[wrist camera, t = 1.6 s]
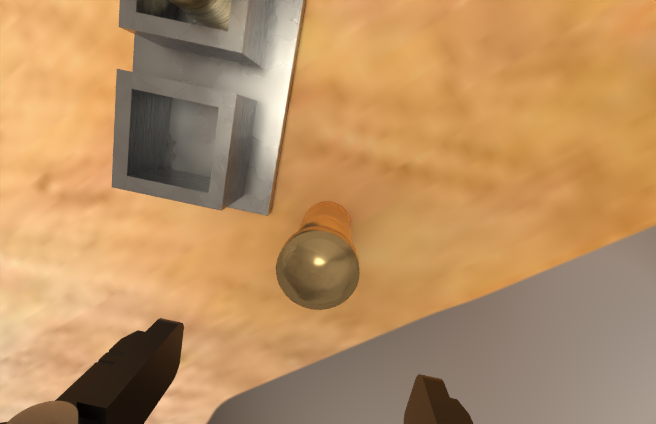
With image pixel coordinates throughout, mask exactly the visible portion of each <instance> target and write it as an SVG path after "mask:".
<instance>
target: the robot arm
mask: <svg viewBox="0 0 656 424" xmlns="http://www.w3.org/2000/svg"><path fill="white" fill-rule="evenodd" d="M183 330H184V325H183V323H180V322H176V321H171V320H166V319H162V318H160V319H158V320H157V321H156V322H155V323H154V324H153V325H152V326H151V327H150V328H149V329H148V330H147V331H146V332H143V331H136V332H134V333H132V334H130V335H128V336H126V337H124V338H122V339H121V340H119V341H118V342H117V343H116V344H115V345H114V346H113V347H112V348H111V349H110V350H109V352H108V353H106V354H105V355H103V356H102V357H101V358H100V359H99V361H98V363H97V362H96V363H95V364H94V365H93V366H92V367H91V368H90V369H89V370H87V371H86V372H85V373H84V374H83V375H82V376H81V377H80V378H79V379H78V380H77V381H76V382H75V383H74V384H72V385H71V386H70V387H69V388H68V389H67V390H66V391H65V392H64V393H63V394H62V395H61V396H60V397H59V398H58V399H56V400H55V401H49V402H44V403H40V404H37V405H34V406H32V407H29V408H27V409H25V410H23V411H22V412H20V413H18V414H17V415H16V416H14V417H13V418H12V419H11V420H9V421H8V422H4V423H0V424H144V422H145V421H146V420H147V418H148V417H149V415H150V414H151V412H152V411H153V409H154V408H155V406H156V405H157V403H158V402H159V401H160V399H161V398H162V396H163V395H164V393H165V392H166V390H167V389H168V387H169V386H170V384H171V383H172V381H173V380H174V378H175V376H176V373H177V371H178V368H179V364H180V357H181V348H182V339H183ZM404 424H473V422H472V420H471V417H470V415H469V413H468V412H467V411H466V410H465V409H464V407H463V406H462V405H461V404H460V402H459V401H458V400H457V399H453V398H450V397H449V395H448V392H447V389H446V387H445V384H444V382H443V380H442V379H439V378H434V377H429V376H425V375H418V376H417V377H416V380H415V383H414V386H413V389H412V392H411V395H410V398H409V401H408V404H407V407H406V410H405V415H404Z"/></svg>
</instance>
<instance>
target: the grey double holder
mask: <svg viewBox="0 0 656 424" xmlns="http://www.w3.org/2000/svg"><path fill="white" fill-rule="evenodd" d="M305 5H306V0H120V10H119V27H120V28H122V29H125V30H127V31H129V32H131V33H134V34H135V38H134V56H133V72H130V71H125V70H120V69H117V78H116V101H115V124H114V147H113V169H112V187H114V188H118V189H123V190H128V191H132V192H137V193H142V194H146V195H151V196H156V197H160V198H165V199H170V200H174V201H179V202H184V203H188V204H193V205H198V206H203V207H207V208H212V209H217V210H223V209H225V208H226V207H229V208H234V209H239V210H243V211H248V212H253V213H257V214H262V215H267V216H268V215H269V214H270V212H271V208H272V202H273V196H274V190H275V184H276V178H277V172H278V166H279V160H280V154H281V148H282V142H283V136H284V130H285V124H286V118H287V112H288V106H289V100H290V94H291V88H292V83H293V77H294V71H295V65H296V59H297V53H298V47H299V41H300V35H301V29H302V23H303V17H304V11H305Z"/></svg>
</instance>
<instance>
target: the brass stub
mask: <svg viewBox="0 0 656 424" xmlns="http://www.w3.org/2000/svg"><path fill="white" fill-rule="evenodd" d="M276 275H277V280H278V283H279V285H280V287H281V289H282V290H283V292H284V293H285V294H286V296H287V297H289V298H290V299H291V300H292V301H293V302H295V303H297V304H298V305H300V306H303V307H306V308H309V309H317V310H321V309H329V308H332V307H335V306H337V305H339V304H341V303H343V302H344V301H345V300H347V299H348V298H349V297H350V296H351V295H352V293H353V292H354V290H355V288H356V286H357V283H358V280H359V261H358V255H357V252H356V249H355V247H354V245H353V244H352V242H351V224H350V218H349V215H348V213H347V212H346V210H345V209H344V208H343V207H342V206H340V205H338V204H336V203H333V202H321V203H318V204H316V205H314V206H313V207H311V208H310V210H309V211H308V212H307V214H306V216H305V218H304V220H303V222H302V224H301V227H300V229H299V231H298V232H296V233H295V234H293V235H292V236H291V237H290V238H289V239H288V240H287V242H286V243H285V245H284V247H283V248H282V250H281V252H280V254H279V257H278V260H277V264H276Z"/></svg>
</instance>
